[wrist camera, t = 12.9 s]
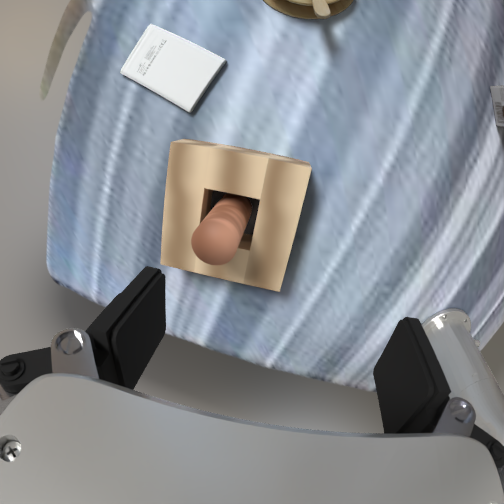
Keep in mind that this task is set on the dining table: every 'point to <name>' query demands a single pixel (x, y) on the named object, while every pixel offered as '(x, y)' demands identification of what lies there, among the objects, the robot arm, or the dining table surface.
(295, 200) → the socket block
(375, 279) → the dining table surface
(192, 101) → the external hard drive
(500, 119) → the coffee box
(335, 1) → the tableware set
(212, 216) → the peg
